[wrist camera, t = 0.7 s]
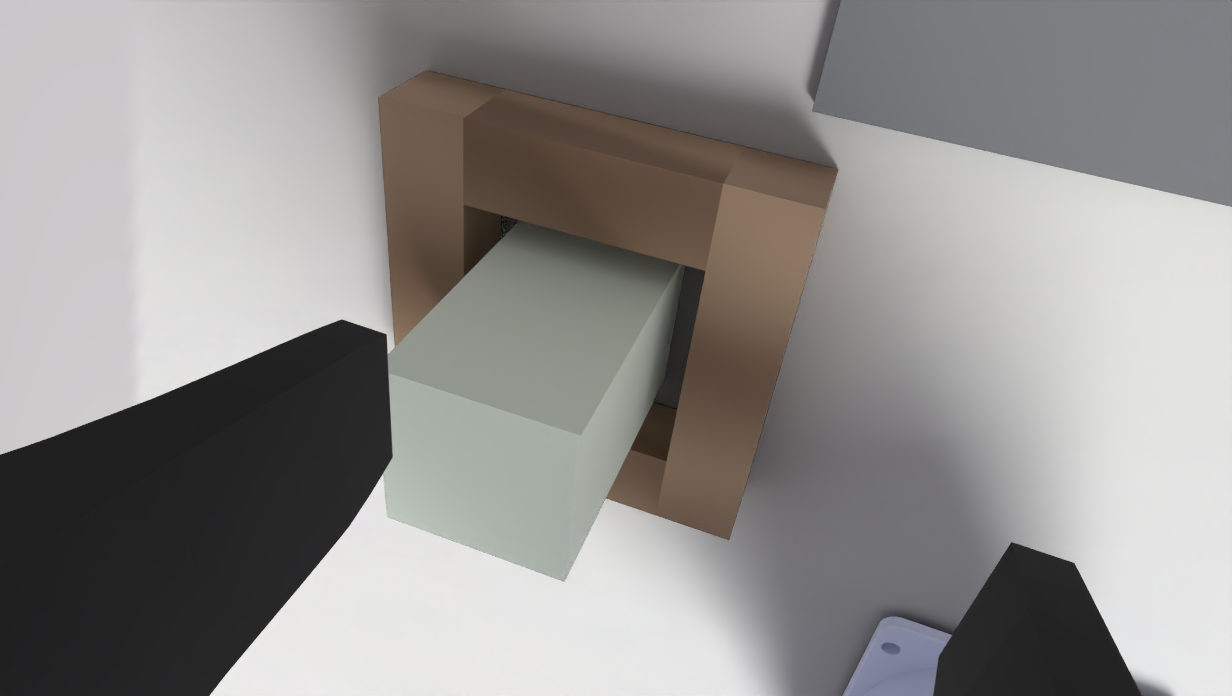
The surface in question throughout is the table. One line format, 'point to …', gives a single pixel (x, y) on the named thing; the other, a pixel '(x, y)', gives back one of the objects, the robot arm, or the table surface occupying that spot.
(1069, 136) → the mat
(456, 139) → the frame
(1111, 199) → the table surface
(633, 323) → the part block
